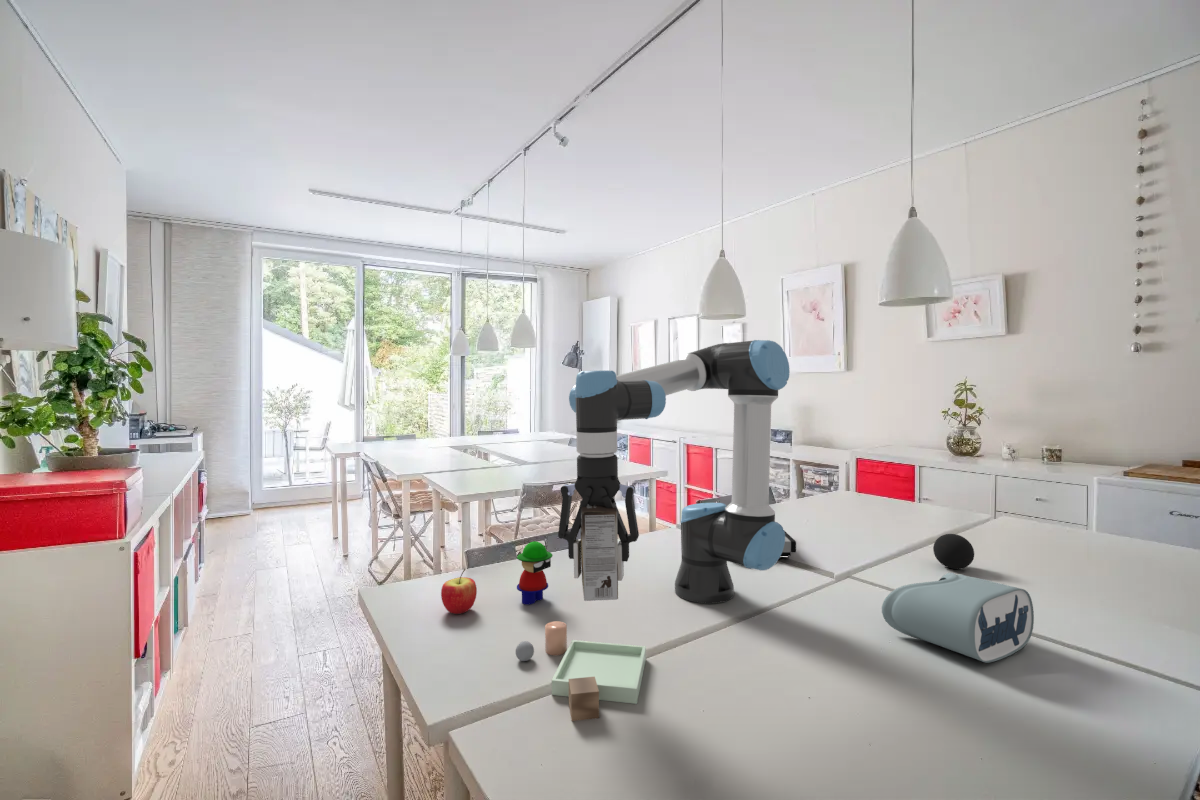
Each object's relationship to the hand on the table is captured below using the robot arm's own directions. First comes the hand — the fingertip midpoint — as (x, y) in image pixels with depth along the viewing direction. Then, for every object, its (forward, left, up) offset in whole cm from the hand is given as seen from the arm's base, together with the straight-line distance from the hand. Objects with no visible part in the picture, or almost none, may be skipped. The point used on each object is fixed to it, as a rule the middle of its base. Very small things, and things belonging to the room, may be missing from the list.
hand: (599, 576), depth 98 cm
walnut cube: (+1, +11, -19) cm, 22 cm away
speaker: (-91, -75, -19) cm, 120 cm away
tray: (0, 0, -19) cm, 19 cm away
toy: (+23, -31, -19) cm, 43 cm away
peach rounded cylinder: (+11, -8, -19) cm, 23 cm away
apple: (+39, -22, -19) cm, 48 cm away
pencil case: (-71, -27, -19) cm, 79 cm away
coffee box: (0, 0, -3) cm, 3 cm away
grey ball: (+16, -3, -17) cm, 23 cm away
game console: (-34, -86, -19) cm, 95 cm away
